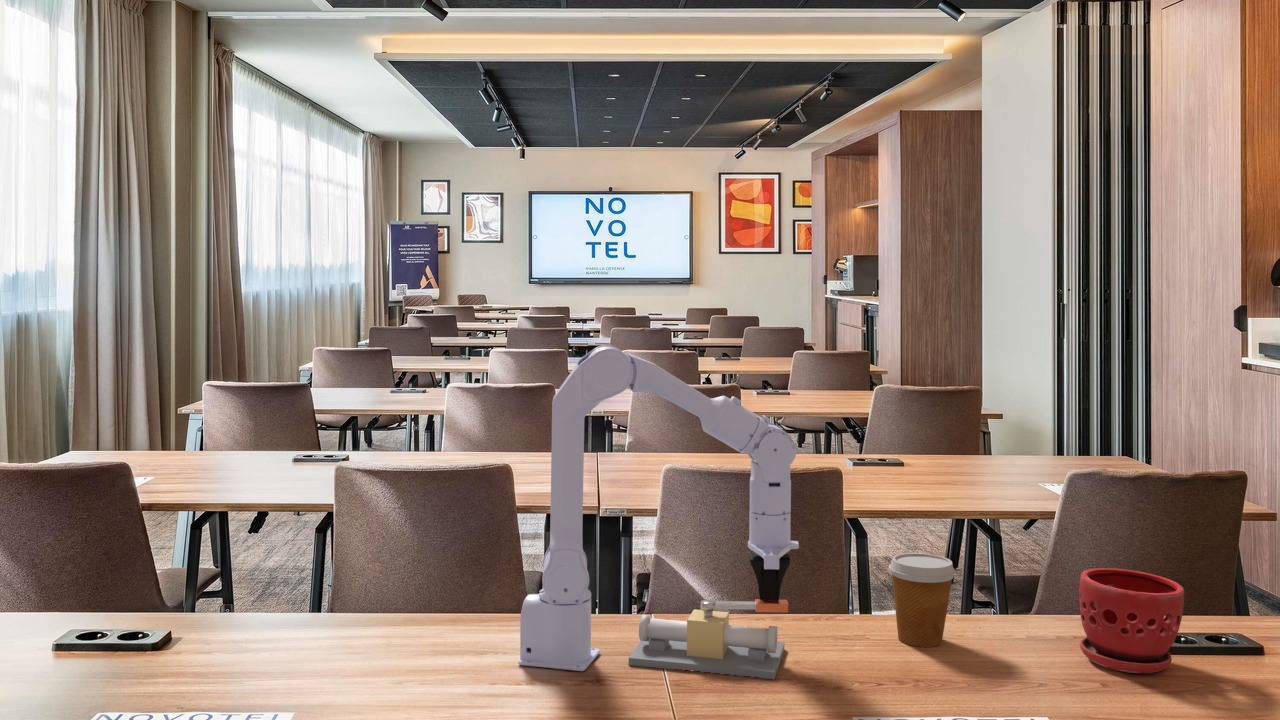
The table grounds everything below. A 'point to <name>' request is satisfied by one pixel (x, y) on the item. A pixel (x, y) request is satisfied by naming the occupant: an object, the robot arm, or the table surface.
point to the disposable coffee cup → (921, 596)
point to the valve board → (708, 664)
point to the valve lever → (746, 605)
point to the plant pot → (1129, 619)
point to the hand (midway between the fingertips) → (769, 606)
